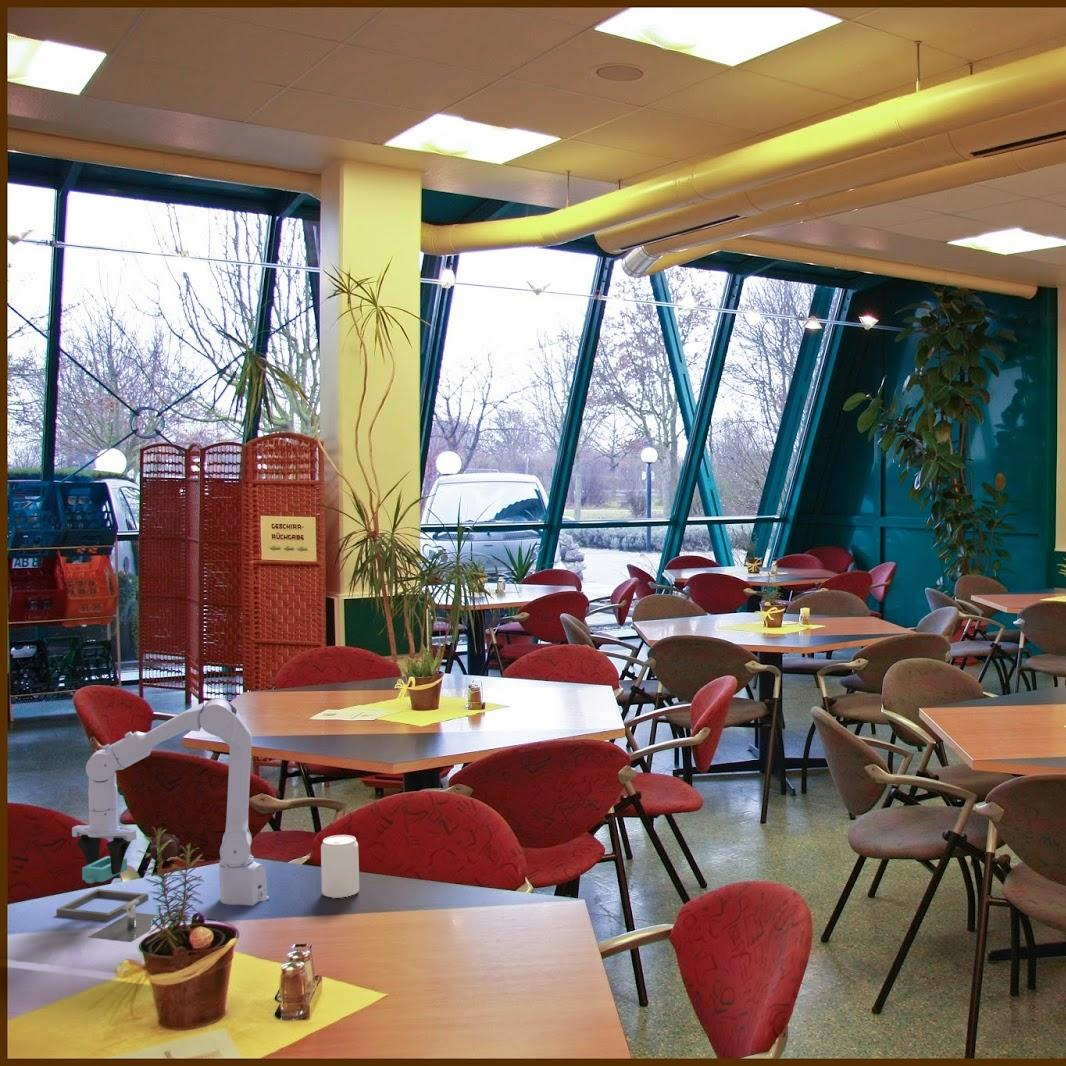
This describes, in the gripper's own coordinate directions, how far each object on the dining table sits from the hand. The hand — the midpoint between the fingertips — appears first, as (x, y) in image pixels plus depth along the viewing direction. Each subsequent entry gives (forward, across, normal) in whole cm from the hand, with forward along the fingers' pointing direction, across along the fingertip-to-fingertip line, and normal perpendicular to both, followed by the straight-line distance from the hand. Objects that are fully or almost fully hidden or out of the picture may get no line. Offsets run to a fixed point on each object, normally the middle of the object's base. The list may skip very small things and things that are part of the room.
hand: (105, 872), depth 242 cm
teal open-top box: (+1, 0, 0) cm, 1 cm away
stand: (+9, +12, -7) cm, 16 cm away
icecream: (+9, -10, +34) cm, 37 cm away
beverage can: (+9, +43, +24) cm, 50 cm away
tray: (+9, -2, +1) cm, 9 cm away
